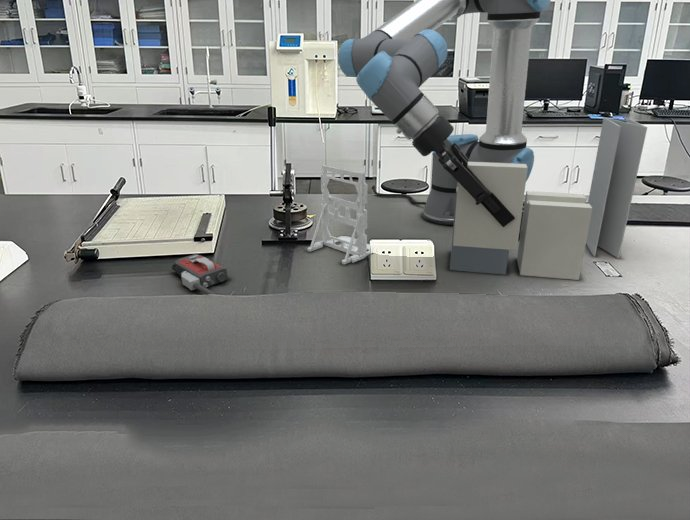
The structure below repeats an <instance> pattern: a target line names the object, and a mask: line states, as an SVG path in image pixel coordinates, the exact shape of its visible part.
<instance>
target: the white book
mask: <svg viewBox="0 0 690 520" xmlns="http://www.w3.org/2000/svg"><path fill="white" fill-rule="evenodd" d="M462 164H463V163H462ZM467 166H468V167H469V169H470V170H471V171H472V172H473V173H474V174H475V175H476V176H477V178H478V179H479V180H480V181H481V182H482V183H483V185H484V186H485V187H486V188H487V189H488V190H489V191H490V193H491V192H492V193H493V194H494V195H495V196H496V197H497V198H498V199H499V200H500V202H501V203H502V204H503V205H504V206H505V207H506V208H507V209H508V210H509V211H510V213H511V214H512V215H513V216H514V217H515V219H514V220H512V221H511V222H510V223H509V224H507V225H506V226H505V227H502V226H501V225H500V223H499V222H498V221H497V220H496V219H495V218H494V217H493V216H492V215H491V214H490V212H489V211H488V210H487V209H486V208H485V207H484V206H483V205H482V204H481V203H480V204H479V205H476V204H475V203H476V201H475V199H474V198H473V197H472V196H471V195H470V194H469V193H468V192H467V191H466V190H465V189H464V187H463V186H462V185H461V184H460V183H459V182H458V189H457V202H456V214H455V227H454V239H453V246H465V247H478V248H492V249H506V250H509V251H518V246H519V240H518V238H519V230H520V223H521V215H522V212H523V208H524V201H525V193H526V190H525V189H526V185H527V184H526V183H527V181H526V177H527V169H528V167H527V165H526V164H514V163H489V162H468V165H467Z"/></svg>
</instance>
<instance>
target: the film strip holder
mask: <svg viewBox="0 0 690 520" xmlns="http://www.w3.org/2000/svg"><path fill="white" fill-rule="evenodd" d="M328 172H332V174H331V175H332V176H331V175H328ZM335 174H339V176H340V177H335ZM344 176H348V177H349V179H344ZM353 177H354V178H358V180H357V182H356V181H353ZM330 180H333V181H337V182H342V183H345V184H349V185H354V187H355V190H356V193H357V197H356V199H355V202H354V201H349V200H346V199H343V198H338V197H335V196H331V195H330V192H329V188H328V185H329V183H330ZM368 187H369V184H368V183H366V173H365V172H357V171H353V170H349V169H344V168H339V167H334V166H329V165H326V164H321V173H320V192H321V193H322V194H321V195H322V197H321V198H320V203H321V204H320V210H321V211H320V215H319V217H318V221H317V224H316V227H315V230H314V233H313V236H312V239H311V243H310V245H309V246H308V247H307V249H306V250H307V252H309V253H311V252H314V251H316V250H319V249H322V248H324V246H327V247H329V248H332V249H334V250H337V251H341V252H343V253H345V256H344V259H342V260H341V264H342V265H344V266H345V265H348V264H350V263H352V264H354V263H357V262H359V261H361V260H364V259H366V257H368V256H370V255H371V254H370V244H371V243H368V235H367V234H366V232H365V231H366V230H367V229H368V209H366V205H367V204H368V201H369V200H368V196H369V195H368V194H369V193H368V191H369V188H368ZM330 204H333V206H334V209H333V211H334V213H332V212H330ZM340 207H343V208H344V211H345V212H344V213H345V214H344V215H340V214H341V213H340ZM351 210H353V211H355V213H356V214H355V219H353V218H351ZM330 221H334V222H337V223H340V224H343V225H347V226H350V227H353V228H354V229H353V233H352V234H351V236H347V235H346V236H344V235H341V236H338V237H336V236H332V235H331V233H330V230H329V227H328V226H329V224H330ZM320 226H321V239H322V240H320V241H316V239H317V235H318V233H319V229H320ZM356 236H357V238H356ZM339 242H340V244H336V243H339Z"/></svg>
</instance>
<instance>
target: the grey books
mask: <svg viewBox="0 0 690 520" xmlns="http://www.w3.org/2000/svg"><path fill="white" fill-rule="evenodd" d="M457 189H458V181H457V188H456V200H455V212H454V224H453V225H452V237H451V249H450V261H449V271H456V272H457V271H458V272H469V273H478V274H479V273H480V274H481V273H482V274H492V275H504V276H506V275H507V267H508V261H509V260H508V259H509V253H510V250H506V249H492V248H478V247H465V246H453V239H454V227H455V214H456V202H457Z"/></svg>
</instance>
